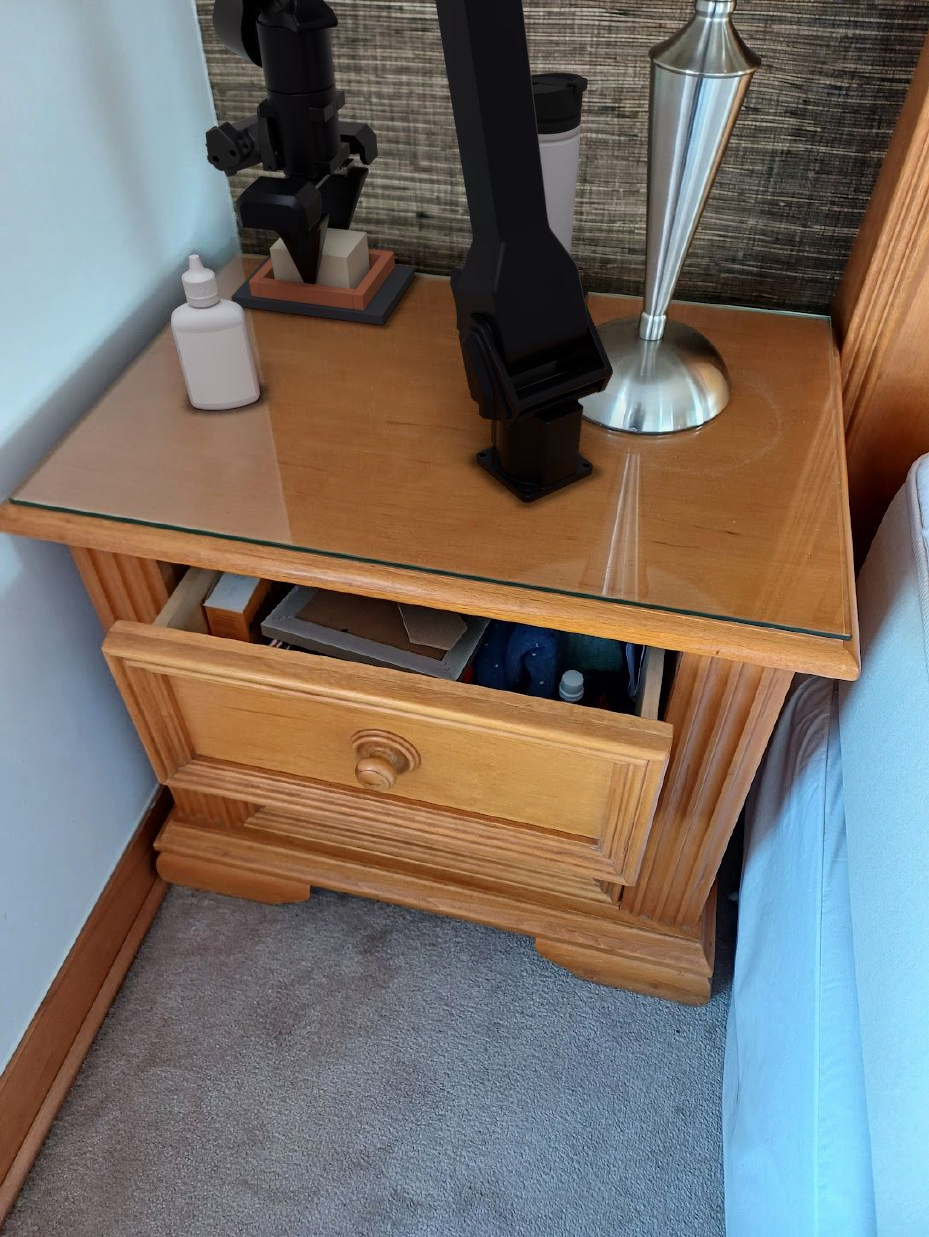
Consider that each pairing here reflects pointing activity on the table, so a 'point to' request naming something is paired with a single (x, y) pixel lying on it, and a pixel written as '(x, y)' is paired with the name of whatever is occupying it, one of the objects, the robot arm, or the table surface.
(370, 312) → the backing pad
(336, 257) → the cream block
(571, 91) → the travel mug
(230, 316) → the eye dropper bottle
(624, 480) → the table surface
